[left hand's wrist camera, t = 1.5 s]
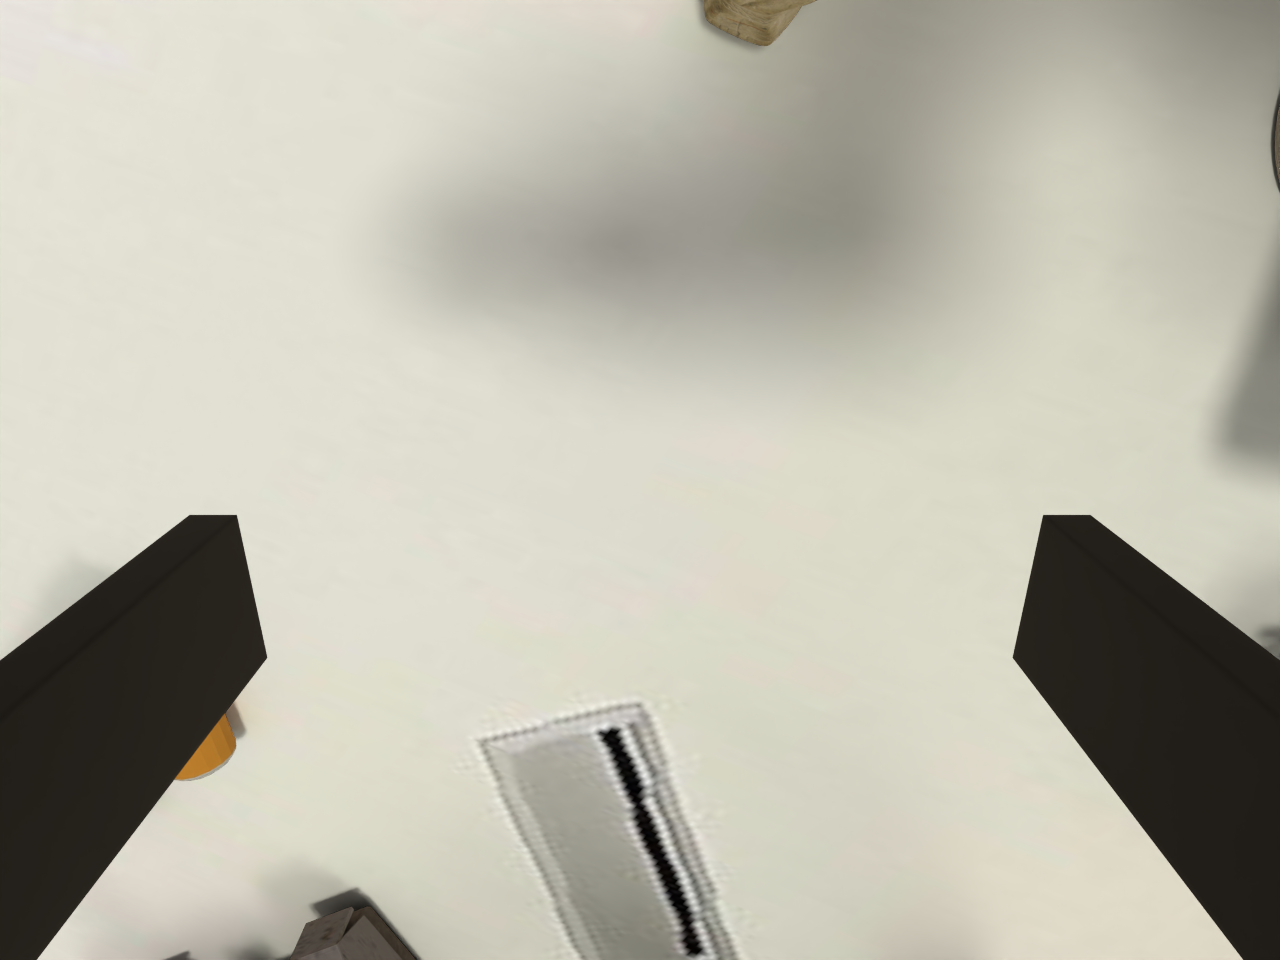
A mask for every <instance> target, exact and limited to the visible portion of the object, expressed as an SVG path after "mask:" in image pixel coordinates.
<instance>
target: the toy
mask: <svg viewBox="0 0 1280 960" xmlns="http://www.w3.org/2000/svg"><path fill="white" fill-rule="evenodd" d="M290 960H416V959H415V958H414V957H413V956H412V954H411V953H410V952H409V951H408V950H407V948H406V947H405V946H404V945H403V944H402V943H401V941H400V940H399V939H398V938H397V937H396V936H395V934H394V933H393V932H392V931H391V930H390V929H389V927H388V926H387V925H386V924H385V923H384V921H383V920H382V919H381V918H380V917H379V916H378V914H377V913H376V912H375V911H374V910H373V909H372V907H371V906H370V907H364V908H361V909H359V910H356V911H354V909H353V908H352V907H349V908H346V909H343V910H341V911H338V912H335V913H333V914H330V915H327V916H325V917H322V918H319V919H316V920H314V921H311V922H308V923H306V925H305V927H304V929H303V932H302V934H301V936H300V938H299V940H298V943H297V945H296V947H295V949H294V952H293V954H292V956H291V958H290Z"/></svg>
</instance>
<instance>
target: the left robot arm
mask: <svg viewBox="0 0 1280 960" xmlns="http://www.w3.org/2000/svg"><path fill="white" fill-rule="evenodd" d="M1275 161H1276V167H1277V174H1278V178H1279V181H1280V106H1279V110H1278V115H1277V122H1276V129H1275ZM266 659H267V654H266V649H265V645H264V640H263V635H262V631H261V626H260V621H259V617H258V612H257V607H256V603H255V598H254V593H253V589H252V584H251V579H250V575H249V570H248V565H247V561H246V556H245V551H244V547H243V542H242V537H241V533H240V528H239V523H238V519H237V515H189V516H188V517H187V518H185V519H184V520H183V521H181V522H180V523H179V524H177V525H176V526H175V527H173V528H172V529H171V530H170V531H168V532H167V533H166V534H164V535H163V536H162V537H160V538H159V539H158V540H157V541H155V542H154V543H153V544H151V545H150V546H149V547H147V548H146V549H145V550H144V551H142V552H141V553H140V554H138V555H137V556H136V557H134V558H133V559H132V560H130V561H129V562H128V563H127V564H125V565H124V566H123V567H121V568H120V569H119V570H117V571H116V572H115V573H114V574H112V575H111V576H110V577H108V578H107V579H106V580H104V581H103V582H102V583H101V584H99V585H98V586H97V587H95V588H94V589H93V590H91V591H90V592H89V593H87V594H86V595H85V596H84V597H82V598H81V599H80V600H78V601H77V602H76V603H74V604H73V605H72V606H71V607H69V608H68V609H67V610H65V611H64V612H63V613H61V614H60V615H59V616H58V617H56V618H55V619H54V620H52V621H51V622H50V623H48V624H47V625H46V626H44V627H43V628H42V629H41V630H39V631H38V632H37V633H35V634H34V635H33V636H31V637H30V638H29V639H28V640H26V641H25V642H24V643H22V644H21V645H20V646H18V647H17V648H16V649H15V650H13V651H12V652H11V653H9V654H8V655H7V656H5V657H4V658H3V659H1V660H0V960H37V959H38V957H39V956H40V955H41V953H42V952H43V951H44V949H45V948H46V947H47V946H48V944H49V943H50V942H51V940H52V939H53V938H54V936H55V935H56V934H57V932H58V931H59V930H60V929H61V927H62V926H63V925H64V923H65V922H66V921H67V919H68V918H69V917H70V915H71V914H72V913H73V912H74V910H75V909H76V908H77V906H78V905H79V904H80V902H81V901H82V900H83V898H84V897H85V896H86V894H87V893H88V892H89V891H90V889H91V888H92V887H93V885H94V884H95V883H96V881H97V880H98V879H99V877H100V876H101V875H102V874H103V872H104V871H105V870H106V868H107V867H108V866H109V864H110V863H111V862H112V860H113V859H114V858H115V856H116V855H117V854H118V853H119V851H120V850H121V849H122V847H123V846H124V845H125V843H126V842H127V841H128V839H129V838H130V837H131V836H132V834H133V833H134V832H135V830H136V829H137V828H138V826H139V825H140V824H141V822H142V821H143V820H144V819H145V817H146V816H147V815H148V813H149V812H150V811H151V809H152V808H153V807H154V805H155V804H156V803H157V801H158V800H159V799H160V798H161V796H162V795H163V794H164V792H165V791H166V790H167V788H168V787H169V786H170V784H171V783H172V782H173V781H174V779H175V778H176V777H177V775H178V774H179V773H180V771H181V770H182V769H183V767H184V766H185V765H186V763H187V762H188V761H189V760H190V758H191V757H192V756H193V754H194V753H195V752H196V750H197V749H198V748H199V746H200V745H201V744H202V743H203V741H204V740H205V739H206V737H207V736H208V735H209V733H210V732H211V731H212V729H213V728H214V727H215V726H216V724H217V723H218V722H219V720H220V719H221V718H222V716H223V715H224V714H225V712H226V711H227V710H228V708H229V707H230V706H231V705H232V703H233V702H234V701H235V699H236V698H237V697H238V695H239V694H240V693H241V691H242V690H243V689H244V688H245V686H246V685H247V684H248V682H249V681H250V680H251V678H252V677H253V676H254V674H255V673H256V672H257V670H258V669H259V668H260V667H261V665H262V664H263V663H264V661H265V660H266ZM1013 659H1014V660H1015V661H1016V663H1017V664H1018V665H1019V667H1020V668H1021V669H1022V670H1023V672H1024V673H1025V674H1026V676H1027V677H1028V678H1029V680H1030V681H1031V682H1032V684H1033V685H1034V686H1035V688H1036V689H1037V690H1038V691H1039V693H1040V694H1041V695H1042V697H1043V698H1044V699H1045V701H1046V702H1047V703H1048V705H1049V706H1050V707H1051V708H1052V710H1053V711H1054V712H1055V714H1056V715H1057V716H1058V718H1059V719H1060V720H1061V722H1062V723H1063V724H1064V726H1065V727H1066V728H1067V729H1068V731H1069V732H1070V733H1071V735H1072V736H1073V737H1074V739H1075V740H1076V741H1077V743H1078V744H1079V745H1080V746H1081V748H1082V749H1083V750H1084V752H1085V753H1086V754H1087V756H1088V757H1089V758H1090V760H1091V761H1092V762H1093V763H1094V765H1095V766H1096V767H1097V769H1098V770H1099V771H1100V773H1101V774H1102V775H1103V777H1104V778H1105V779H1106V781H1107V782H1108V783H1109V784H1110V786H1111V787H1112V788H1113V790H1114V791H1115V792H1116V794H1117V795H1118V796H1119V798H1120V799H1121V800H1122V801H1123V803H1124V804H1125V805H1126V807H1127V808H1128V809H1129V811H1130V812H1131V813H1132V815H1133V816H1134V817H1135V819H1136V820H1137V821H1138V822H1139V824H1140V825H1141V826H1142V828H1143V829H1144V830H1145V832H1146V833H1147V834H1148V836H1149V837H1150V838H1151V839H1152V841H1153V842H1154V843H1155V845H1156V846H1157V847H1158V849H1159V850H1160V851H1161V853H1162V854H1163V855H1164V856H1165V858H1166V859H1167V860H1168V862H1169V863H1170V864H1171V866H1172V867H1173V868H1174V870H1175V871H1176V872H1177V874H1178V875H1179V876H1180V877H1181V879H1182V880H1183V881H1184V883H1185V884H1186V885H1187V887H1188V888H1189V889H1190V891H1191V892H1192V893H1193V894H1194V896H1195V897H1196V898H1197V900H1198V901H1199V902H1200V904H1201V905H1202V906H1203V908H1204V909H1205V910H1206V912H1207V913H1208V914H1209V915H1210V917H1211V918H1212V919H1213V921H1214V922H1215V923H1216V925H1217V926H1218V927H1219V929H1220V930H1221V931H1222V932H1223V934H1224V935H1225V936H1226V938H1227V939H1228V940H1229V942H1230V943H1231V944H1232V946H1233V947H1234V948H1235V949H1236V951H1237V952H1238V953H1239V955H1240V956H1241V957H1242V959H1243V960H1280V660H1279V659H1277V658H1276V657H1275V656H1273V655H1272V654H1271V653H1269V652H1268V651H1267V650H1265V649H1264V648H1263V647H1262V646H1260V645H1259V644H1258V643H1256V642H1255V641H1254V640H1252V639H1251V638H1250V637H1249V636H1247V635H1246V634H1245V633H1243V632H1242V631H1241V630H1239V629H1238V628H1237V627H1236V626H1234V625H1233V624H1232V623H1230V622H1229V621H1228V620H1226V619H1225V618H1224V617H1222V616H1221V615H1220V614H1219V613H1217V612H1216V611H1215V610H1213V609H1212V608H1211V607H1209V606H1208V605H1207V604H1206V603H1204V602H1203V601H1202V600H1200V599H1199V598H1198V597H1196V596H1195V595H1194V594H1193V593H1191V592H1190V591H1189V590H1187V589H1186V588H1185V587H1183V586H1182V585H1181V584H1179V583H1178V582H1177V581H1176V580H1174V579H1173V578H1172V577H1170V576H1169V575H1168V574H1166V573H1165V572H1164V571H1163V570H1161V569H1160V568H1159V567H1157V566H1156V565H1155V564H1153V563H1152V562H1151V561H1150V560H1148V559H1147V558H1146V557H1144V556H1143V555H1142V554H1140V553H1139V552H1138V551H1136V550H1135V549H1134V548H1133V547H1131V546H1130V545H1129V544H1127V543H1126V542H1125V541H1123V540H1122V539H1121V538H1120V537H1118V536H1117V535H1116V534H1114V533H1113V532H1112V531H1110V530H1109V529H1108V528H1107V527H1105V526H1104V525H1103V524H1101V523H1100V522H1099V521H1097V520H1096V519H1095V518H1093V517H1092V516H1091V515H1043V519H1042V523H1041V528H1040V533H1039V537H1038V542H1037V547H1036V551H1035V556H1034V561H1033V565H1032V570H1031V575H1030V579H1029V584H1028V589H1027V593H1026V598H1025V603H1024V607H1023V612H1022V617H1021V621H1020V626H1019V631H1018V635H1017V640H1016V645H1015V649H1014V654H1013Z"/></svg>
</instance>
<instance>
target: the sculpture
mask: <svg viewBox="0 0 1280 960" xmlns="http://www.w3.org/2000/svg"><path fill="white" fill-rule="evenodd" d="M814 1H817V0H704V11H705V16H706V19H707V21H709V22H710V23H711V24H713V25H714V26H716V27H718V28H720V29H721V30H723V31H725V32H727V33H729V34H731V35H734V36H736V37H738V38H740V39H743V40H745V41H748V42H751V43H754V44H757V45H762V46H768V45H770V44H771V43H773V42H774V41H775V40H776V39H777V38H778V37H779V35H780V34H781V33H782V32H783V31H784V30H785V29H786V27H787V26H788V25H789V24H790V22H791V21H792V20H793V18H794V17H795V15H796V14H797V12H798V11H799V9H800V8H801V6H803V5H807V4H810V3H812V2H814Z"/></svg>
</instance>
